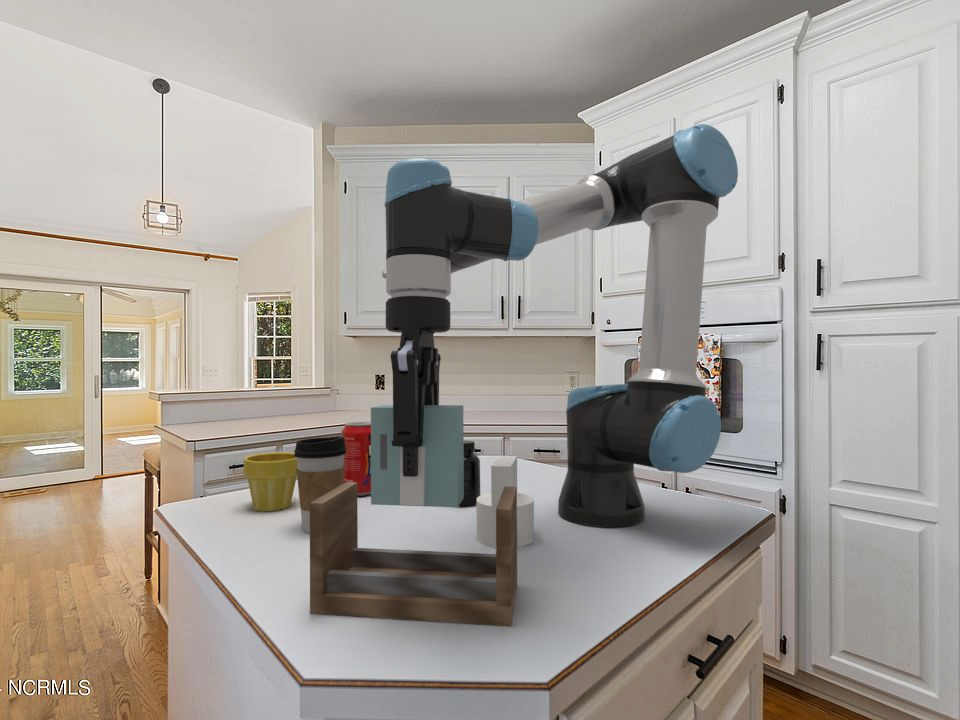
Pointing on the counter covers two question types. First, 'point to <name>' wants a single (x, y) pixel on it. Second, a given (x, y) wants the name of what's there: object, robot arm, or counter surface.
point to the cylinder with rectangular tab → (487, 503)
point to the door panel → (440, 456)
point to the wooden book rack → (409, 570)
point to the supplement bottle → (470, 475)
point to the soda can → (358, 455)
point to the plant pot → (271, 479)
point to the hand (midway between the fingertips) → (418, 498)
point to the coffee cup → (318, 470)
